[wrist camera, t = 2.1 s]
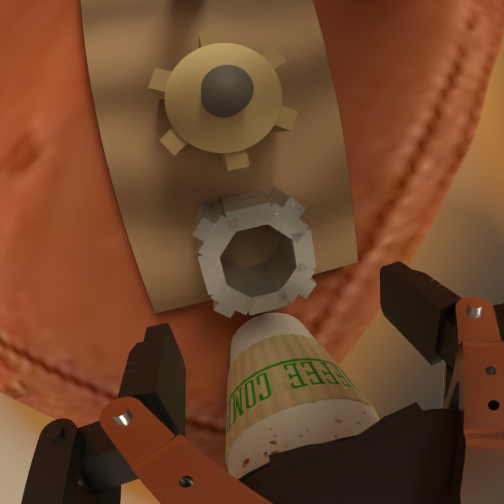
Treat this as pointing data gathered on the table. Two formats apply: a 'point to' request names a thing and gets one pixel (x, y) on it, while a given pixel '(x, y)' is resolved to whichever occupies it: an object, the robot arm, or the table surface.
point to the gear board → (203, 173)
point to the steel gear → (260, 275)
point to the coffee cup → (285, 395)
